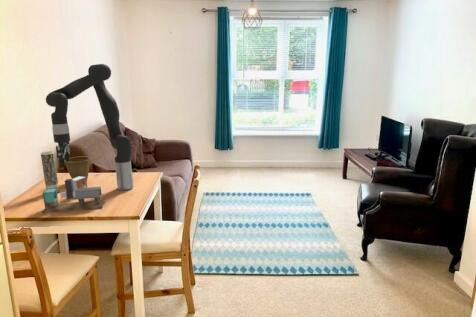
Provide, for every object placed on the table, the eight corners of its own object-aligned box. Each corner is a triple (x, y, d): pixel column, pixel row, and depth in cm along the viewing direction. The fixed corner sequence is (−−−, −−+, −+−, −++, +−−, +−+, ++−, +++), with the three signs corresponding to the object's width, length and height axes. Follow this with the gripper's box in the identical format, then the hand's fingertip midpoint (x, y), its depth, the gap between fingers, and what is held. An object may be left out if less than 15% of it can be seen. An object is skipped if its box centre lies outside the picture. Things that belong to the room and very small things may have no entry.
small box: (78, 198, 202) (76, 180, 200) (70, 197, 204) (68, 179, 202) (88, 193, 210) (86, 176, 207) (81, 192, 212) (78, 176, 209)
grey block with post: (100, 194, 191) (98, 176, 189) (98, 196, 187) (96, 179, 185) (63, 197, 188) (60, 179, 186) (60, 199, 184) (58, 181, 182)
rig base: (105, 201, 196) (104, 192, 194) (101, 208, 186) (100, 198, 185) (49, 206, 191) (47, 196, 189) (42, 213, 181) (41, 202, 180)
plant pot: (64, 182, 232) (61, 159, 229) (87, 177, 242) (84, 155, 238) (72, 187, 222) (69, 163, 218) (96, 182, 231) (93, 158, 228)
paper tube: (54, 195, 208) (48, 154, 202) (44, 194, 209) (37, 153, 203) (61, 191, 214) (56, 151, 208) (52, 191, 216) (46, 151, 210)
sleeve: (101, 194, 192) (100, 186, 191) (99, 197, 187) (98, 189, 186) (78, 196, 190) (77, 188, 189) (75, 199, 185) (74, 191, 184)
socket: (57, 198, 188) (56, 188, 187) (54, 202, 183) (52, 192, 182) (47, 199, 188) (46, 189, 186) (44, 202, 182) (42, 192, 181)
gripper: (64, 134, 173) (68, 166, 177) (73, 130, 187) (76, 159, 190) (48, 135, 172) (52, 167, 175) (57, 130, 185) (62, 160, 189)
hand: (65, 163), depth 183 cm, fingers open, 8 cm apart
